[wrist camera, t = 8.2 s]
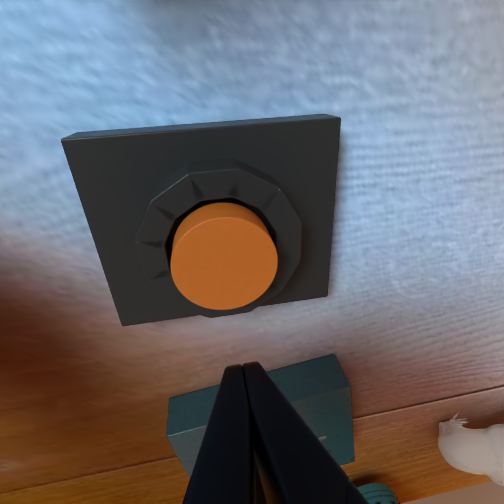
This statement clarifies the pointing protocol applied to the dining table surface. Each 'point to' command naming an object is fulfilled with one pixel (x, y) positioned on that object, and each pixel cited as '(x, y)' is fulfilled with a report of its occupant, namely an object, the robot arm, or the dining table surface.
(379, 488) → the beverage bottle
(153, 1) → the dining table surface
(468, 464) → the white lumpy figure
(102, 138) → the button base
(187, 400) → the dial console
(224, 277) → the button
